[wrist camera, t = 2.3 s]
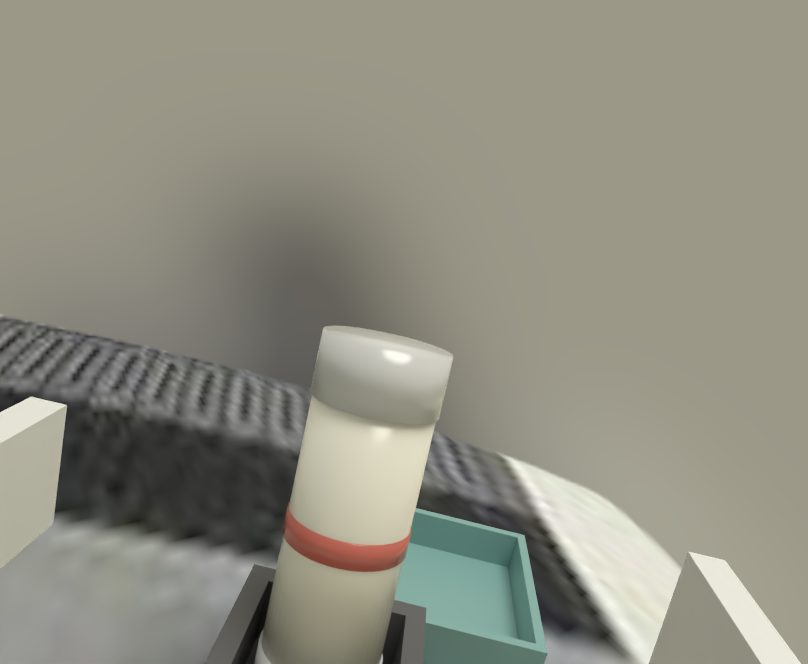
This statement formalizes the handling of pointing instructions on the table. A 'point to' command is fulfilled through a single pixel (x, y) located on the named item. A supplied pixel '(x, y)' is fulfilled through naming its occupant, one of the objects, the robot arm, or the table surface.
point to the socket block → (248, 617)
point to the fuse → (353, 497)
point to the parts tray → (472, 592)
